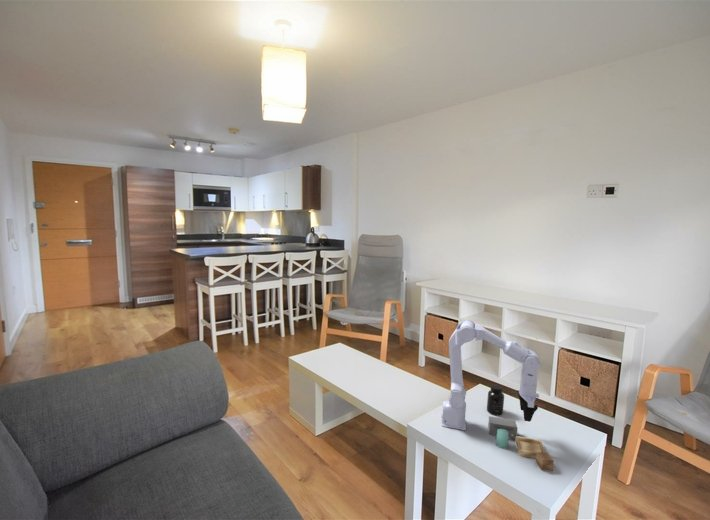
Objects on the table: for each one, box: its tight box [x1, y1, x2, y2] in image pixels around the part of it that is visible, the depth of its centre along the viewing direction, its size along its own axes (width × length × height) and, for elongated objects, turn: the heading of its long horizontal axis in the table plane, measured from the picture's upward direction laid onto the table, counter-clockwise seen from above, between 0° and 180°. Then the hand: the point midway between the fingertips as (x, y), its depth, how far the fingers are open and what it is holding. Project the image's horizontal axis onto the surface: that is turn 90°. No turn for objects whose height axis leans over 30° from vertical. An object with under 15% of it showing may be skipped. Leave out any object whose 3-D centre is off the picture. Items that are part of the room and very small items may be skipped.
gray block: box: [487, 415, 518, 440], centre depth 143 cm, size 10×5×5 cm, turn 75°
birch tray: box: [514, 435, 547, 460], centre depth 133 cm, size 9×9×2 cm
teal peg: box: [495, 429, 509, 449], centre depth 136 cm, size 4×4×6 cm
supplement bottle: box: [486, 383, 505, 417], centre depth 158 cm, size 7×7×12 cm
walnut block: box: [535, 451, 555, 471], centre depth 125 cm, size 4×4×4 cm
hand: (525, 415), depth 139 cm, fingers open, 7 cm apart
